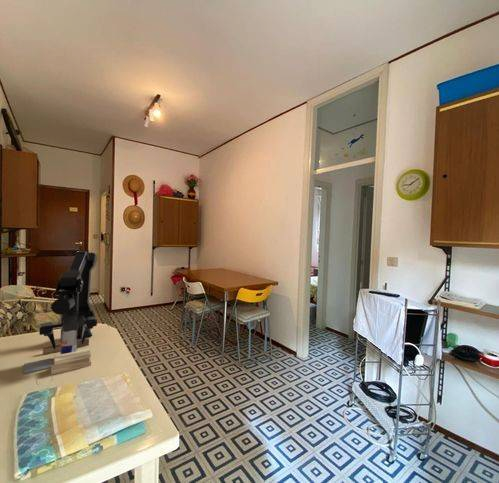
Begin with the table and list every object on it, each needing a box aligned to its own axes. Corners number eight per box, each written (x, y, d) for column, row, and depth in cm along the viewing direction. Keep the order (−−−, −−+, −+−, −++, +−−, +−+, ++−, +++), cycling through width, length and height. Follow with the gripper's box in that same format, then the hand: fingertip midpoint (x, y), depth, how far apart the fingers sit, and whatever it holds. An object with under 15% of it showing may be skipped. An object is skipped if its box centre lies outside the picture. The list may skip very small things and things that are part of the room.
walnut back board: (42, 353, 108) (42, 346, 108) (88, 344, 118) (88, 337, 118) (42, 354, 108) (43, 347, 107) (88, 345, 118) (88, 338, 117)
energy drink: (57, 357, 106) (58, 327, 105) (71, 352, 110) (72, 323, 110) (65, 361, 103) (65, 330, 103) (79, 355, 108) (79, 326, 107)
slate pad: (24, 364, 99) (24, 363, 99) (51, 359, 104) (51, 358, 104) (23, 374, 93) (23, 372, 93) (52, 367, 98) (52, 366, 98)
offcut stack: (50, 368, 97) (50, 356, 97) (88, 360, 105) (89, 348, 105) (51, 374, 93) (51, 362, 93) (90, 365, 101) (91, 353, 101)
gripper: (40, 316, 94) (39, 360, 94) (100, 308, 106) (98, 347, 106) (39, 308, 103) (38, 349, 103) (95, 302, 115) (94, 339, 115)
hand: (68, 346), depth 106 cm, fingers open, 9 cm apart
